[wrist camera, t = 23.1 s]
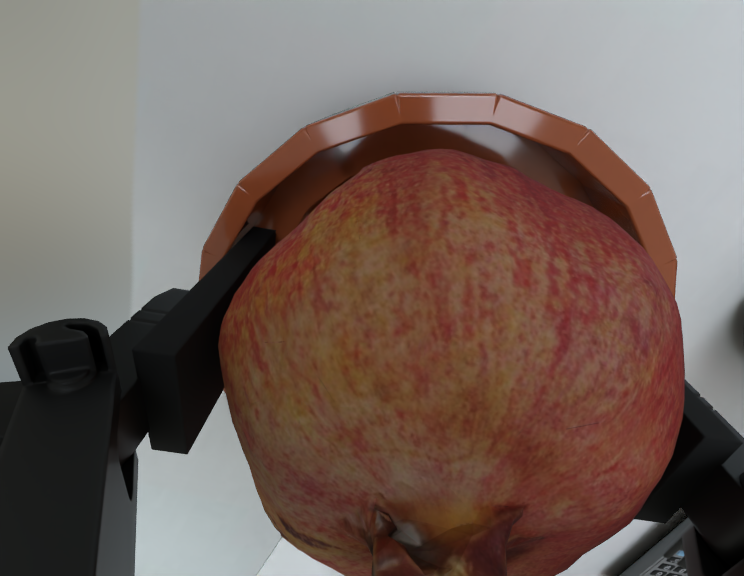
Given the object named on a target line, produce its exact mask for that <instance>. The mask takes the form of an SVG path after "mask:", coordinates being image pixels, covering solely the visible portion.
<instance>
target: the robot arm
mask: <svg viewBox="0 0 744 576" xmlns="http://www.w3.org/2000/svg"><path fill="white" fill-rule="evenodd" d="M275 244H276V230H272V229H266V228H260V227H254V226H253V227H252V228H251V229H250V230H249V231H248V232H247V233H246V234H245V235H244V236H243V237H242V238H241V239H240V240H239V241H238V242H237V243H236V244H235V245H234V247H233V248H232V249H231V250H230V251H229V252H228V253H227V254H226V255H225V256H224V257H223V258H222V259H221V260H220V261H219V262H218V263H217V264H216V265H215V266H214V267H213V268H212V269H211V270H210V271H209V272H208V273H207V274H206V275H205V276H204V277H203V278H202V279H201V280H200V281H199V282H198V283H197V284H196V285H195V286H194V287H193V288H192V289H191V290H190V291H188V290H182V289H176V288H173V289H170V290H168V291H166V292H164V293H162V294H159V295H157V296H155V297H154V298H152V299H151V300H150V301H149V302H148V303H147V304H146V305H145V306H143V307H142V310H139V311H138V312H137V313H136V314H134V315H133V316H132V317H131V320H128V321H126V323H124V324H123V325H122V326H121V327H120V328H119V329H117V330H116V331H115V332H114V333H113V334H112V335H111V336H110V337H109V334H108V330H107V327H106V326H105V325H103V324H102V323H100V322H99V321H94V320H90V319H85V318H78V319H64V320H58V321H53V322H48V323H45V324H43V325H40V326H37V327H34V328H32V329H30V330H28V331H26V332H25V333H23V334H22V335H20V336H18V337H16V338H15V340H14V341H13V342H12V343H11V344H10V346H9V347H8V350H9V352H10V355H11V357H12V359H13V362H14V365H15V367H16V369H17V372H18V374H19V377H20V379H21V381H16V382H1V383H0V576H134V573H135V543H136V513H137V482H138V458H137V453H136V448H137V447H138V445H139V444H140V443H141V441H142V440H143V438H144V437H145V435H146V434H147V433H149V438H150V443H151V448H152V449H153V450H160V451H167V452H174V453H181V454H188V452H189V451H190V449H191V447H192V445H193V443H194V442H195V440H196V438H197V436H198V434H199V433H200V431H201V429H202V427H203V425H204V424H205V422H206V420H207V418H208V416H209V415H210V413H211V411H212V409H213V407H214V406H215V404H216V402H217V400H218V398H219V397H220V395H221V393H222V391H223V389H224V388H225V387H224V382H223V377H222V371H221V365H220V357H219V350H218V343H219V336H220V329H221V324H222V321H223V318H224V316H225V314H226V312H227V310H228V308H229V305H230V303H231V301H232V298H233V296H234V294H235V292H236V291H237V290H238V288H239V287H240V286H241V284H242V283H243V282H244V280H245V279H246V277H247V275H248V274H249V272H250V271H251V269H252V268H253V267H254V266H255V265H256V263H257V262H258V261H259V260H260V259H261V258H262V257H263V256H264V255H266V254H267V253H268V252H269V251H270V250H271V249H272V248H273V247H274V246H275ZM680 508H682V509H683V511H684V512H685V513H686V515H687V516H688V518H689V519H690V521H691V523H690V524H689V525H688V526H687V527H686V528H685V529H684V530H683V531H682V532H681V533H679V534H678V535H677V536H676V537H675V538H674V539H673V540H672V541H671V542H670V543H669V544H668V545H667V546H666V547H665V548H664V552H663V557H665V558H667V559H668V560H669V559H670V558H671V557H672V556H673V555H674V554H675V553H676V552H677V551H678V550H681V551H684V556H683V557H682V558H681V559H680V560H679V561H678V562H677V565H679V566H680V567H682V568H684V569H686V570H687V576H744V438H743V437H742V436H741V435H740V434H739V433H738V432H737V431H736V430H735V429H734V428H733V427H732V426H731V425H730V424H729V423H728V422H727V421H726V420H725V419H724V418H723V417H722V416H721V415H720V414H719V413H718V412H717V411H716V410H713V407H712V406H711V405H710V404H709V403H708V402H707V401H706V400H705V399H704V398H703V397H700V394H699V393H698V392H697V391H696V390H695V389H694V388H693V387H692V386H691V385H690V384H689V383H688V382H687V381H686V380H685V387H684V409H683V418H682V422H681V426H680V430H679V433H678V437H677V441H676V444H675V448H674V452H673V455H672V457H671V459H670V461H669V463H668V465H667V467H666V469H665V471H664V473H663V475H662V477H661V479H660V480H659V482H658V483H657V485H656V486H655V487H654V489H653V490H652V492H651V493H650V495H649V496H648V498H647V500H646V502H645V503H644V505H643V507H642V508H641V510H640V511H639V513H638V514H637V515H636V516H635V518H634V519H639V520H645V521H652V522H659V523H666V522H667V521H668V520H669V519H670V518H671V517H672V516H673V515H674V514H675V513H676V512H677V511H678V510H679V509H680Z"/></svg>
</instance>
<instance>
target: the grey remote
mask: <svg viewBox="0 0 744 576" xmlns="http://www.w3.org/2000/svg"><path fill="white" fill-rule="evenodd" d="M690 523H691V521H690V519H689V518H686V519H685V520H684V521H683V522H682V523H681V524H679V525H678V526H677V527H676V528H675V529H673V530H672V531H671V532H670V533H669V534H668V535H666V536H665V537H664V538H663V539H662V540H661V541H659V542H658V543H657V544H656V545H655V546H653V547H652V548H651V549H650V550H649V551H648V552H646V553H645V554H644V555H643V556H642V557H641V558H639V559H638V560H637V561H636V562H635V563H634V564H632V565H631V566H630V567H629V568H628V569H626V570H625V571H624V572H623V573H622V574H621V575H619V576H687V570H686V569H684V568H682V567H680V566H679V565H677V562H678V561H679V560H680V559H681V558H682V557H683V556H684V551H681V550H678V551H677V552H676V553H675V554H674V555H673V556H672V557H671V558H670V559H669V560H668V559H667V558H665V557H663V552H664V548H665V547H666V546H667V545H668V544H669V543H670V542H671V541H672V540H673V539H674V538H675V537H676V536H677V535H678V534H679V533H681V532H682V531H683V530H684V529H685V528H686V527H687V526H688V525H689V524H690Z"/></svg>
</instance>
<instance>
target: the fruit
mask: <svg viewBox="0 0 744 576" xmlns="http://www.w3.org/2000/svg"><path fill="white" fill-rule="evenodd" d="M218 350H219V357H220V365H221V371H222V377H223V382H224V387H225V392H226V396H227V400H228V405H229V409H230V413H231V418H232V422H233V424H234V427H235V430H236V432H237V435H238V438H239V441H240V444H241V447H242V450H243V452H244V454H245V457H246V459H247V461H248V464H249V466H250V470H251V473H252V477H253V480H254V483H255V486H256V489H257V492H258V494H259V497H260V499H261V502H262V505H263V508H264V510H265V512H266V514H267V515H268V517H269V518H270V520H271V522H272V523H273V525H274V527H275V528H276V529H277V530H278V531H279V532H280V534H281V536H282V537H283V538H284V539H285V540H286V541H288V542H289V543H291V544H292V545H293V546H294V547H296V548H297V549H298V550H300V551H302V552H303V553H305V554H307V555H308V556H310V557H311V558H313V559H314V560H316V561H318V562H320V563H322V564H324V565H326V566H328V567H330V568H332V569H334V570H336V571H337V572H339V573H341V574H342V575H344V576H555V575H557V574H559V573H561V572H563V571H565V570H567V569H568V568H569V567H570V566H571V565H572V564H573V563H574V562H576V561H577V560H578V559H579V558H580V557H581V556H582V555H583V554H585V553H587V552H588V551H590V550H591V549H593V548H595V547H596V546H598V545H600V544H601V543H603V542H604V541H606V540H608V539H609V538H611V537H612V536H613V535H615V534H616V533H617V532H619V531H620V530H622V529H623V528H624V527H626V526H627V525H628V524H630V522H631V521H632V520H633V519H634V518H635V516H636V515H637V514H638V513H639V511H640V510H641V508H642V507H643V505H644V503H645V502H646V500H647V498H648V496H649V495H650V493H651V492H652V490H653V489H654V487H655V486H656V485H657V483H658V482H659V480H660V479H661V477H662V475H663V473H664V471H665V469H666V467H667V465H668V463H669V461H670V459H671V457H672V455H673V452H674V448H675V444H676V441H677V437H678V433H679V430H680V426H681V422H682V418H683V409H684V387H685V368H684V351H683V335H682V327H681V318H680V314H679V310H678V306H677V303H676V301H675V298H674V296H673V294H672V292H671V290H670V288H669V287H668V285H667V283H666V282H665V280H664V278H663V276H662V275H661V273H660V271H659V270H658V268H657V266H656V264H655V263H654V261H653V259H652V258H651V257H650V256H649V254H648V253H647V252H646V251H645V249H644V248H643V247H642V246H641V245H640V244H639V243H638V242H637V241H635V240H634V239H633V238H632V237H631V236H630V235H629V234H628V233H627V232H626V231H625V230H623V229H622V228H621V227H620V226H619V225H618V224H617V223H615V222H614V221H613V220H612V219H610V218H609V217H608V216H606V215H604V214H602V213H601V212H599V211H598V210H596V209H595V208H593V207H591V206H589V205H587V204H585V203H582V202H580V201H578V200H576V199H574V198H571V197H568V196H565V195H563V194H561V193H559V192H557V191H555V190H552V189H550V188H548V187H547V186H545V185H543V184H542V183H540V182H538V181H536V180H533V179H531V178H529V177H527V176H526V175H525V174H523V173H522V172H520V171H519V170H517V169H515V168H513V167H510V166H506V165H503V164H499V163H496V162H492V161H489V160H485V159H482V158H479V157H476V156H474V155H471V154H467V153H464V152H461V151H457V150H454V149H430V150H422V151H418V152H414V153H409V154H404V155H396V156H393V157H389V158H386V159H383V160H380V161H377V162H375V163H372V164H370V165H368V166H366V167H364V168H362V169H361V171H360V172H359V173H358V174H356V175H355V176H354V177H352V178H351V179H349V180H348V181H347V182H345V183H344V184H343V185H342V186H340V187H338V188H336V189H335V190H334V191H332V192H331V193H330V194H329V195H328V196H327V197H326V198H325V199H324V200H323V201H322V202H321V203H320V204H319V205H318V206H317V207H316V208H315V209H314V210H313V211H312V212H311V213H310V214H309V215H308V216H307V217H306V218H305V219H304V221H303V222H302V223H300V224H299V225H298V226H297V227H296V228H295V229H294V230H293V231H292V232H291V233H290V234H288V235H287V236H286V237H285V238H284V239H282V240H281V241H279V242H278V243H277V244H276V245H275V246H274V247H273V248H272V249H271V250H270V251H269V252H268V253H267V254H266V255H264V256H263V257H262V258H261V259H260V260H259V261H258V262H257V263H256V265H255V266H254V267H253V268H252V269H251V271H250V272H249V274H248V275H247V277H246V279H245V280H244V282H243V283H242V284H241V286H240V287H239V288H238V290H237V291H236V292H235V294H234V296H233V298H232V301H231V303H230V305H229V308H228V310H227V312H226V314H225V316H224V318H223V321H222V324H221V329H220V336H219V343H218Z"/></svg>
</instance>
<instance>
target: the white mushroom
mask: <svg viewBox="0 0 744 576" xmlns="http://www.w3.org/2000/svg"><path fill="white" fill-rule="evenodd" d="M317 570H318V573H319V575H320V576H344V575H342V574H341V573H339V572H337V571H336V570H334V569H332V568H330V567H328V566H326V565H324V564H322V563H320V562H317Z"/></svg>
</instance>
